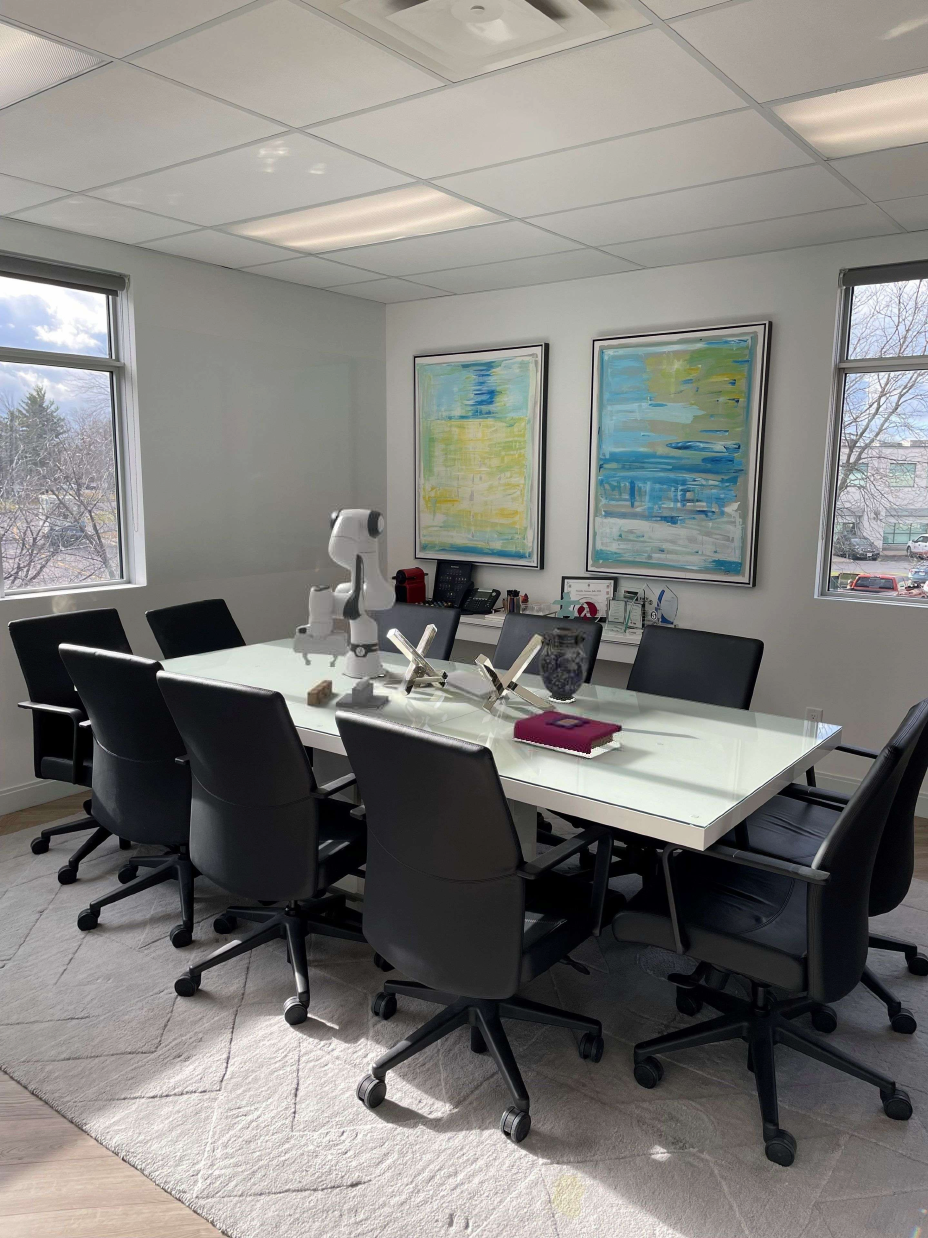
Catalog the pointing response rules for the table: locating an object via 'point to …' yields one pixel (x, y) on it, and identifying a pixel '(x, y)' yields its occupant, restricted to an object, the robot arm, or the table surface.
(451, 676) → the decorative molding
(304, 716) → the table surface
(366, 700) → the stand
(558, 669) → the decorative vase
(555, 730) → the book
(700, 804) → the table surface
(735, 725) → the table surface
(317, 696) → the brown wooden bar
